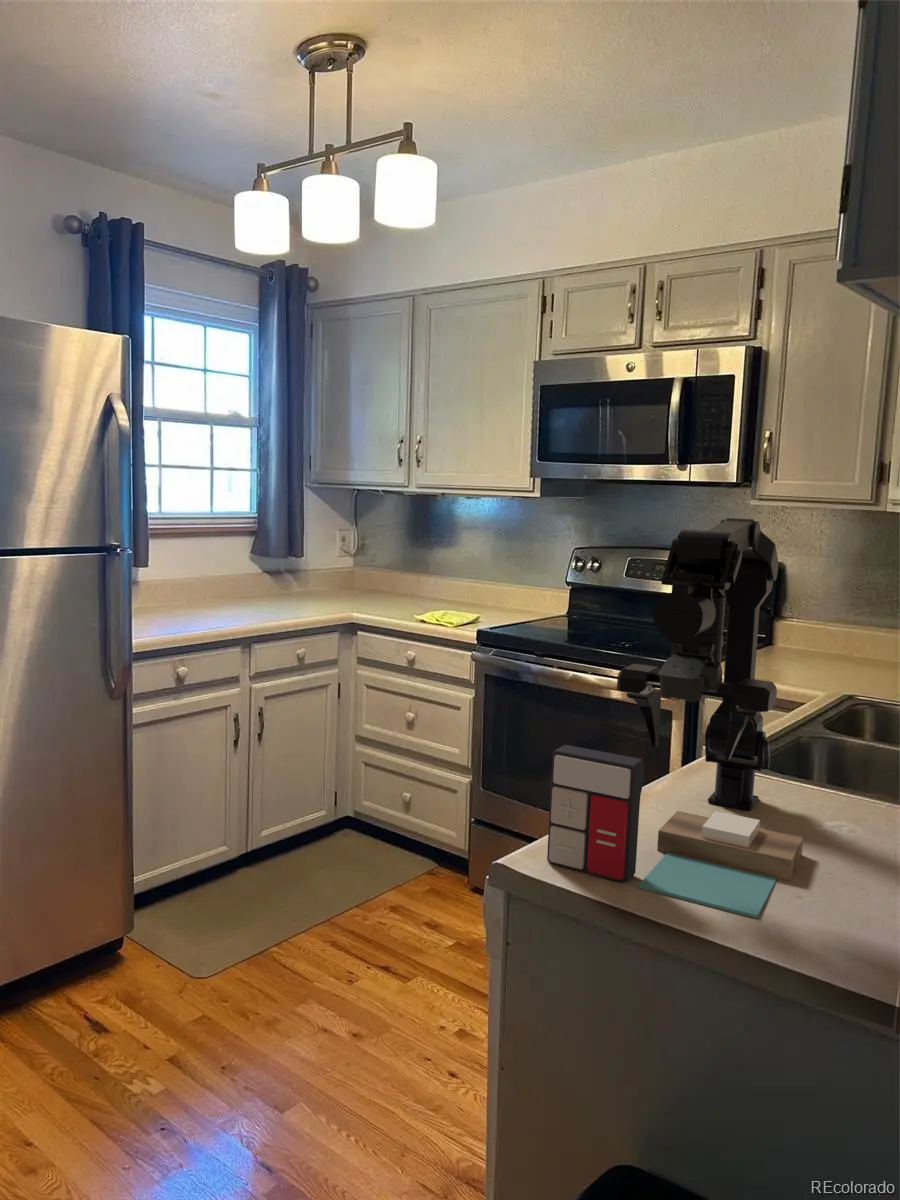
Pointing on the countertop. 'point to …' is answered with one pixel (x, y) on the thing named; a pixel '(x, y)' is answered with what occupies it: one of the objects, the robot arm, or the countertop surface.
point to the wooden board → (731, 847)
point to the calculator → (594, 812)
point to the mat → (710, 884)
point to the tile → (731, 829)
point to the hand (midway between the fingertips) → (690, 753)
